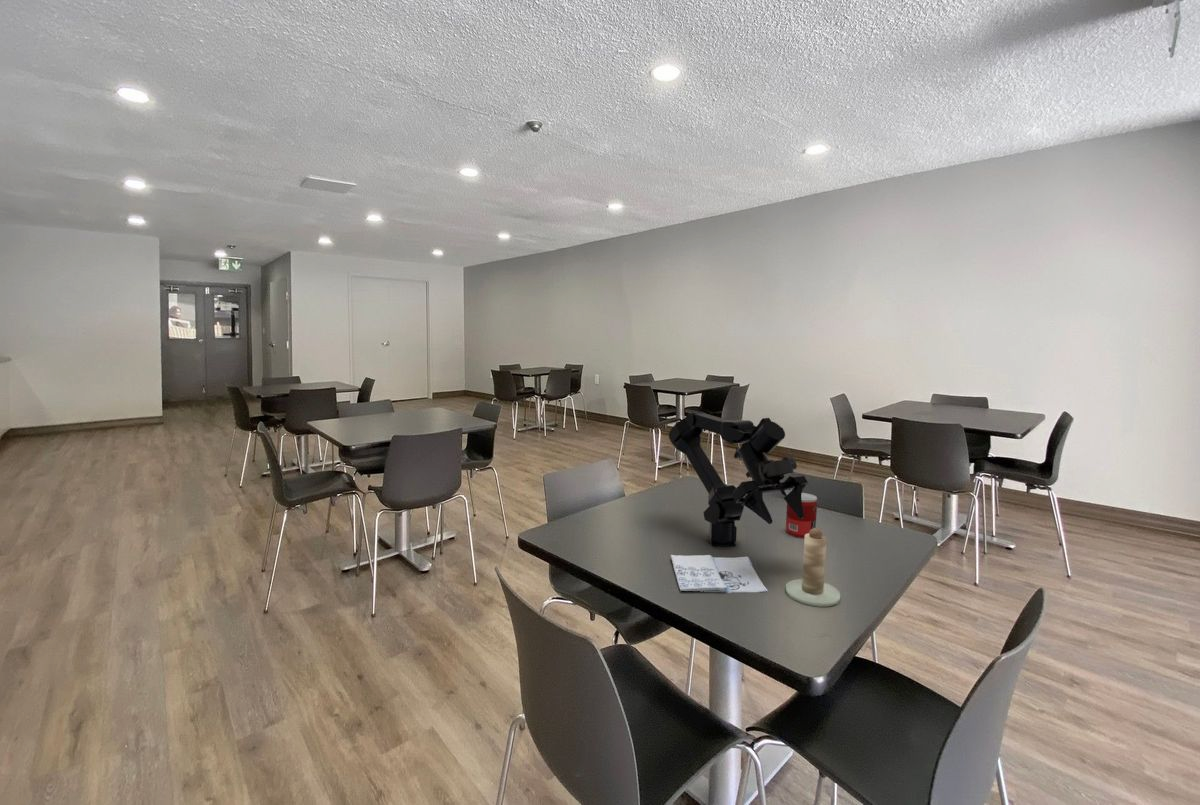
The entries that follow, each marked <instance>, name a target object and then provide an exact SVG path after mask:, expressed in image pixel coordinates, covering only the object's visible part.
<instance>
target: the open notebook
mask: <svg viewBox="0 0 1200 805" xmlns="http://www.w3.org/2000/svg"><path fill="white" fill-rule="evenodd" d="M670 559H671V562H672V566H673V570H674V573H675V578H676V580H677V585H678V587H679V590H680V592H681V591H700V592H699V593H728V594H732V593H753V594H754V593H759V594H760V593H768V592H769V589H767V588H766V587H765V585H764V584H763V582H762V580H761V578H760V577H759V576H758V575H759V574H757V571H755V569H754V567H753V563H752V561H751V560H750V558H749V557H748V556H742V557H741V556H739V557H713V556H712V555H711V554H705V555H701V554H700V555H699V554H698V555H695V554H693V555H682V554H681V555H680V554H679V555H675V554H671V555H670ZM720 574H722V575H723V577H721V575H720ZM703 591H704V592H703Z"/></svg>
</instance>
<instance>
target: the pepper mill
mask: <svg viewBox="0 0 1200 805" xmlns="http://www.w3.org/2000/svg"><path fill="white" fill-rule="evenodd" d="M803 541H804V542H803V543H804V544H803V559H802V575H801V576H802V578H801V579H802V590H803V591H804V592H806V593H809V594H813V595H820V594H822V593H823V590H824V583H825V570H826V558H827V556H826V555H827V541H828V540H827V537H826V536H825V535H823V532H822V530H821V529H820V528H818V527H816V528H813V529H811V530H810V532H809V533H808V534H805V538H804V540H803Z"/></svg>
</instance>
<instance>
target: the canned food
mask: <svg viewBox="0 0 1200 805" xmlns="http://www.w3.org/2000/svg"><path fill="white" fill-rule="evenodd" d="M801 499H802V507H803V513H804V518H802V519H800V518H799V517H798V516H797V515H796V514H795V512H794V511H793V510H792V508H791V507H790V506H789V505H788V503H787V502H786V517H785V518H786V519H785V520H786V523H785V531H786V533H787V534H788V535H790V536H792V537H795V538H802V539H803V538H805V534H808V533H809V532H810V530H811V529H813V528H817V527H816V526H817V510H818V497H817V495H814V494H811V493H806V492H802V494H801Z"/></svg>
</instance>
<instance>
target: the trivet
mask: <svg viewBox="0 0 1200 805" xmlns="http://www.w3.org/2000/svg"><path fill="white" fill-rule="evenodd" d="M785 593H786V595H787V596H788V597H789V598H790V599H792V600H794V602H797V603H800V604H802V605H807V606H811V607H819V608H826V607H827V608H828V607H829V608H830V607H833V605H834V606H835V605H836V606H837V604H839V603H840V602H841V593H840V591H839V590H838V588H836V587H834V586H833V585H831V584H829V583H827V582H824V590H823V593H822V594H820V595H813V594H809V593H806V592H804V591H803V590H802V578H798V579H793V580H790V581H787V583H786V584H785Z"/></svg>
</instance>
